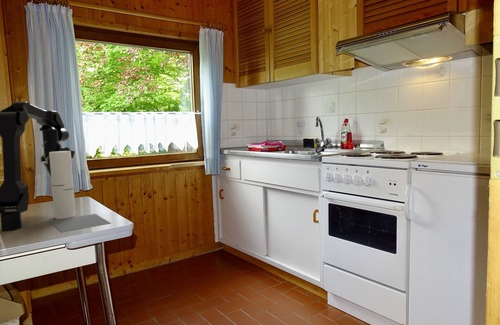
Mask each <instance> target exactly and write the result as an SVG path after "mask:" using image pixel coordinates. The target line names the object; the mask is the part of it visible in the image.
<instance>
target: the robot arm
mask: <svg viewBox="0 0 500 325" xmlns="http://www.w3.org/2000/svg"><path fill="white" fill-rule="evenodd" d="M30 118H31V119H34V120H35V121H36V123H37V124H39V125H40V126H41V127H40V128H38V129H39V131H40V132H41V135H42V144H41V146H42V148H43V154H42V155H41V156H40V159H39V160H40V163H42V164H43V166H44V167H45V170H46V171H47V172H48V174H49V176H50V177H51V168H50V156H49V152H58V151H71V159H74V157H75V153H76V151H75V150H71V148H69V147H66V146H65V147H62V144H60V142H66V141H67V140H68V139H69V137H70V133H69V131H68V129H66V128H65V124H64V122H63V120H62V117H61V115H60V114H59V112H58V111H56V110H45V109H43V108H40V107H38V106H36V105H33V104H32V103H31V104H30V102H28V101H14V102H12V103H11V104H10V105H9V106H7V107H5V108H3V109H2V110H0V137H1V145H2V169H3V172H2V173H3V182H2V183H1V185H0V225H1V232H3V233H4V232H13V231H16V230H21V229H22V228H23V219H22V217H23V216H22V213H23V212H26V211H28V206H29V201H30V200H29V198H30V194H29V186H28V184H25V183H24V182H23V180H22V169H21V167H22V166H21V142H20V141H21V139H20V138H21V137H22V136H23V134H24V132H25V129H26V123H27V122H28V121H29V120H30Z"/></svg>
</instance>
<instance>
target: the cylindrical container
mask: <svg viewBox="0 0 500 325" xmlns="http://www.w3.org/2000/svg"><path fill="white" fill-rule="evenodd" d="M49 156H50V168H51V176H50V178H51V180H50V181H51V190H52V200H53V202H52V203H53V213H54V214H53V215H54V219H55V220H60V219H66V218H72V217H77V216H76V215H77V214H76V203H75V202H76V201H75V189H74V187H75V186H74V176H73V165H72V158H71V151H58V152H49Z"/></svg>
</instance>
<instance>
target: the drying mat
mask: <svg viewBox="0 0 500 325" xmlns="http://www.w3.org/2000/svg"><path fill="white" fill-rule="evenodd" d="M49 223H50V224H52V225H53V226H54V227H55V228H56V229H57V231H59V232H60V233H66V232H71V231H77V230H81V229H83V230H84V229H88V228H94V227H99V226H105V225H110V224H112V222H110V221H109V220H107V219H105V218H104V217H102V216H100V215H98V214H96V213H92V214H85V215H80V216H79V215H78V216H74V217H70V218H64V219H53V220H49Z"/></svg>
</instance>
